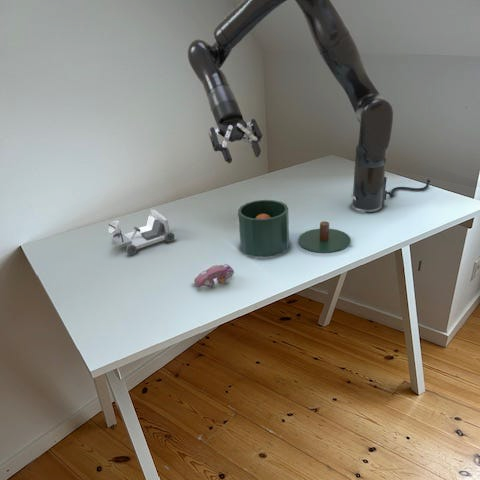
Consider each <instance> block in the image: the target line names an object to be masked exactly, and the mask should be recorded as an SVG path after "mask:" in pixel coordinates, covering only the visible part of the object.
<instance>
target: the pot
mask: <svg viewBox="0 0 480 480" xmlns="http://www.w3.org/2000/svg"><path fill="white" fill-rule="evenodd" d="M259 214H267V215H269V216H270V217H271V218H266V219H255V218H256V217H257V216H258V215H259ZM289 216H290V215H289V207H288V205H287V204H286V203H285V202H282V201H279V200H274V199H258V200H253V201H249V202H246V203H244V204H243V205H240V207H239V208H238V209H237V217H238V229H239V243H240V249H241V251H242V252H243V253H244V254H246V255H249V256H252V257H256V258H257V257H258V258H259V257H260V258H266V257H274V256H278V255H280V254H282V253H284V252H285V251H287V250H288V248H289V246H290V229H289V228H290V225H289V223H290V222H289V219H290V217H289Z"/></svg>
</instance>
